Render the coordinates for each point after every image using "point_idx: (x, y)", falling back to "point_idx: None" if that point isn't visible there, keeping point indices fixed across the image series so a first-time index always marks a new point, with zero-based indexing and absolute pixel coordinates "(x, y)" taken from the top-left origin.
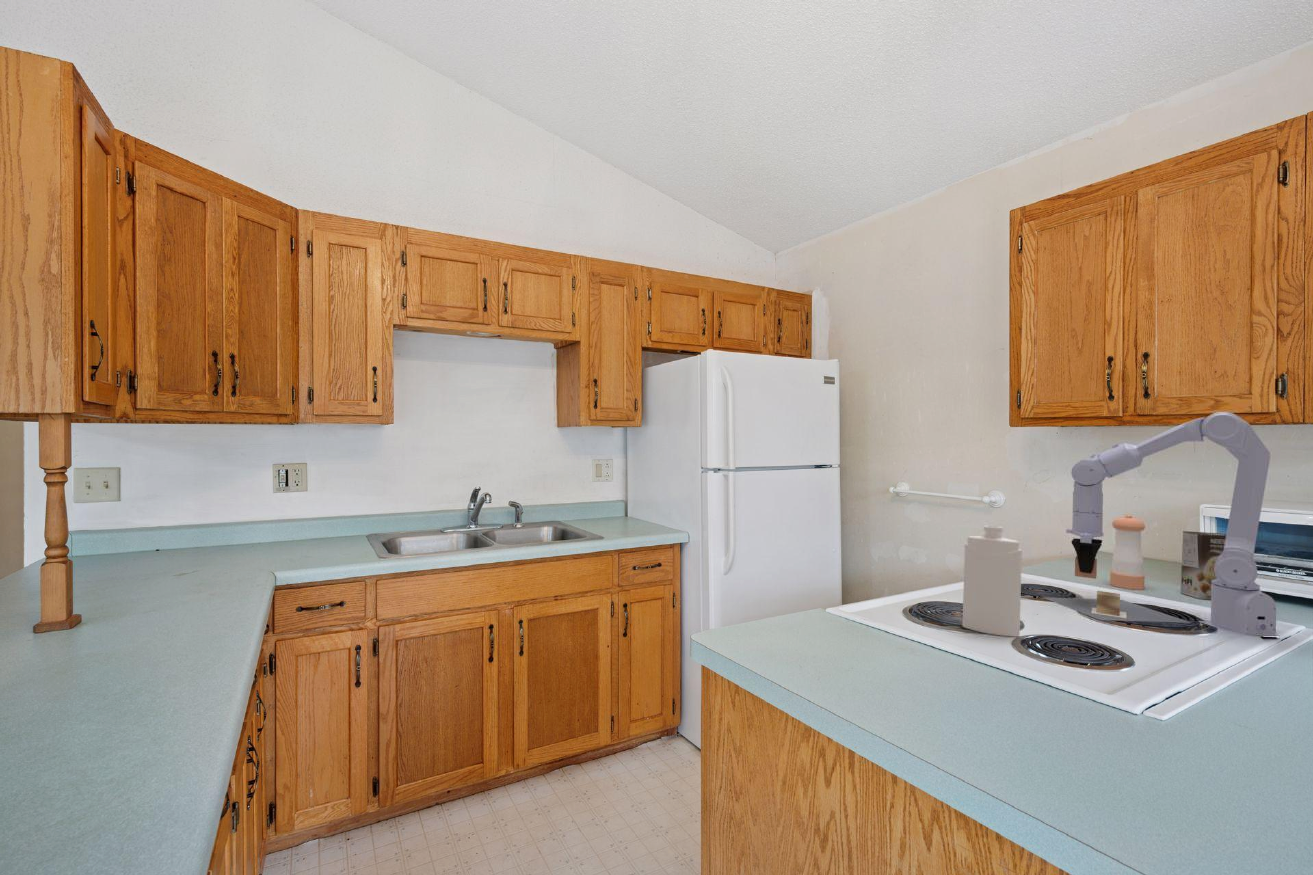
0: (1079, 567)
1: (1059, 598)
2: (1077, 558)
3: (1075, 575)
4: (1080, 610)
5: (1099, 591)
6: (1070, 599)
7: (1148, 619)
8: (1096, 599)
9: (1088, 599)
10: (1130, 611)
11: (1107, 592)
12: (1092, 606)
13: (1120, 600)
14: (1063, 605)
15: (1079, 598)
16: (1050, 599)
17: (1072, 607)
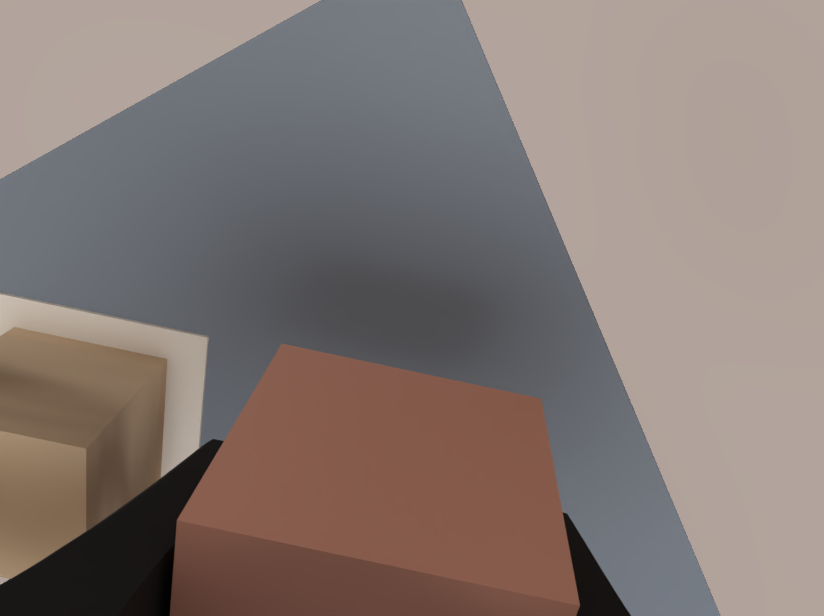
0: (176, 468)
1: (475, 122)
2: (254, 569)
3: (281, 356)
4: (17, 221)
5: (59, 459)
6: (489, 223)
7: None
8: (625, 443)
9: (585, 380)
10: None
11: (68, 515)
12: (269, 349)
13: (683, 598)
14: (130, 107)
15: (589, 314)
16: (360, 16)
17: (97, 175)
